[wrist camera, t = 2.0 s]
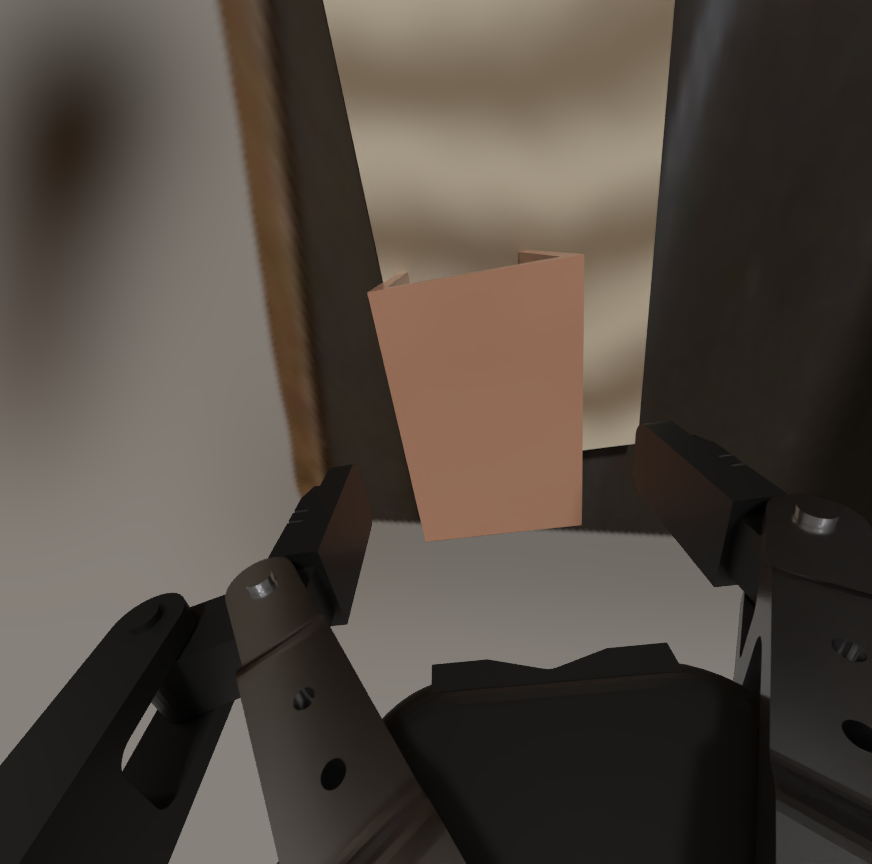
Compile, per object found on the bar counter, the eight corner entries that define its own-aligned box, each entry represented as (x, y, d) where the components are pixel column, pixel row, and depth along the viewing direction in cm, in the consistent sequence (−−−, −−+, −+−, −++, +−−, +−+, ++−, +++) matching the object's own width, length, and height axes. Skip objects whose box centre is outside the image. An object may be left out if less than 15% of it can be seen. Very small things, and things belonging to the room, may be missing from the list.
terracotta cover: (397, 273, 18) (367, 292, 11) (528, 249, 18) (584, 253, 11) (431, 448, 23) (425, 542, 16) (538, 434, 22) (581, 524, 15)
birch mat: (309, -85, 14) (300, -108, 13) (675, -187, 13) (693, -220, 12) (424, 462, 24) (423, 470, 24) (630, 435, 23) (637, 443, 22)
